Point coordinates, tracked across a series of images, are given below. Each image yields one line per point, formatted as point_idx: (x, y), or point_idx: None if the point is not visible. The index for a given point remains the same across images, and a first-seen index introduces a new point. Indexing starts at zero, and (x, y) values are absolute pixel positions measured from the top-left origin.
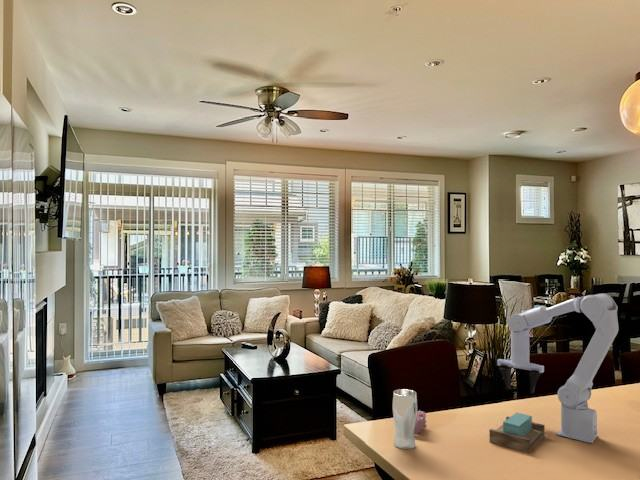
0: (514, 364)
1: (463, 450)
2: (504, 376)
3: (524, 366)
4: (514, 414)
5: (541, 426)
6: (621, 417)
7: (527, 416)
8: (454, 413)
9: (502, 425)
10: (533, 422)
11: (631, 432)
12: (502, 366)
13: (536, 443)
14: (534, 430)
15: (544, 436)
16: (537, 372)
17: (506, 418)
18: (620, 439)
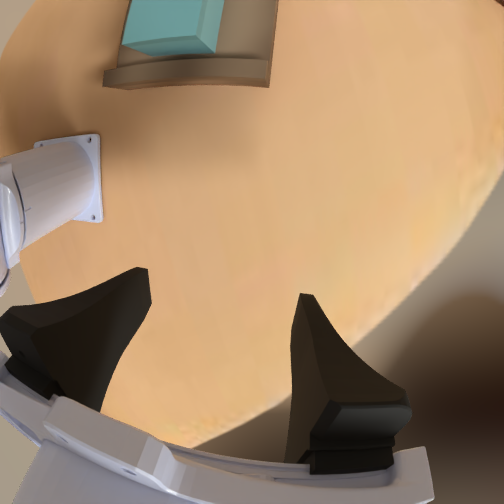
0: (133, 472)
1: None
2: (340, 352)
3: (40, 415)
4: (199, 2)
5: (112, 69)
6: None
7: (138, 24)
8: (480, 155)
9: (271, 17)
10: (140, 79)
11: (29, 281)
12: (372, 452)
13: None
14: (142, 53)
15: (127, 89)
16: (16, 359)
17: (265, 61)
18: None
